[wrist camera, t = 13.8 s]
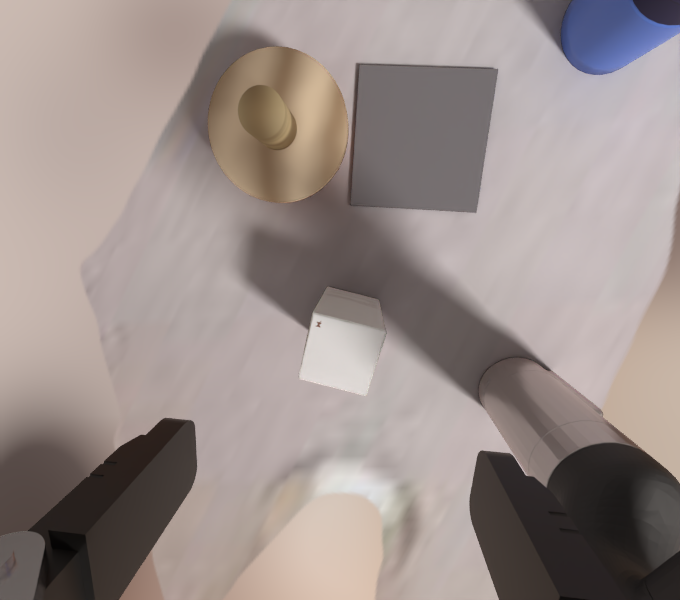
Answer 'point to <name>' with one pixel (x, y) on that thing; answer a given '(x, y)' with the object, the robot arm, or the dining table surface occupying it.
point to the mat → (421, 136)
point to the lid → (278, 124)
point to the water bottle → (616, 31)
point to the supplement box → (343, 341)
